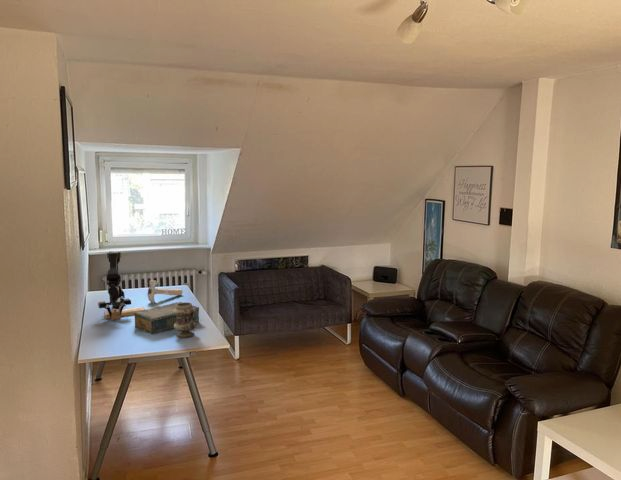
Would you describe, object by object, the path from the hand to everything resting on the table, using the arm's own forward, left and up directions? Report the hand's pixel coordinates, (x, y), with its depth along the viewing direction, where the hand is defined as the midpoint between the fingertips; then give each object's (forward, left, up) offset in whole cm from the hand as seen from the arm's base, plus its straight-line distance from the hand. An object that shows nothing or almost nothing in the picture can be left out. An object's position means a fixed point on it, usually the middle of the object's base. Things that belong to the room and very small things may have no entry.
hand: (115, 316), depth 306 cm
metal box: (+31, +24, -2) cm, 39 cm away
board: (-7, +7, -1) cm, 10 cm away
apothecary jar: (+56, +27, -1) cm, 62 cm away
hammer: (-33, +41, -2) cm, 52 cm away
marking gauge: (-2, 0, -1) cm, 3 cm away
